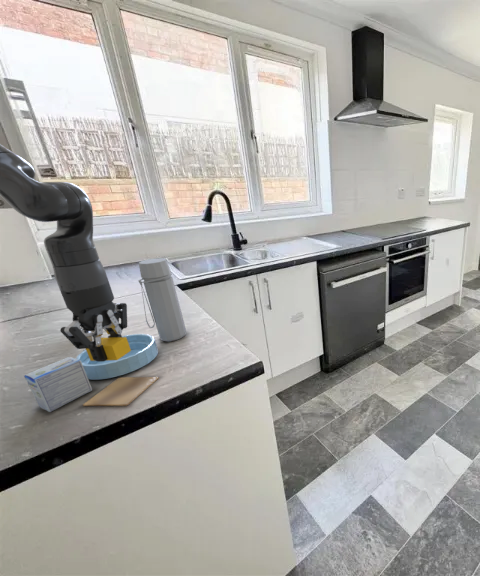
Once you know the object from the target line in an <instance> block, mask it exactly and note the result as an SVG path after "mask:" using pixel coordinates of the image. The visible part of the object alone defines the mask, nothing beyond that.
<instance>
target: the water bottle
mask: <svg viewBox="0 0 480 576" xmlns="http://www.w3.org/2000/svg"><path fill="white" fill-rule="evenodd" d="M138 267H139V272H140V273H139V274H140V277H141V279H138V280H137V281H138V283H139V285H140V287H141V289H142V291H141V294H142V296H144V297H145V299H144V298H142V302H143V303H145V300H146V304H147V307H148V310H149V312H150V317H151V319H152V321H153V325H150V324H149V321H148V318H147V313H146V311H144V315H145V322H146V325H147V326H148V328H149V329H153V328H154V327H155V326H156V329H157V333H158V336H159V339H160V340H161V341H163V342H175V341H178V340H180V339H182V338H183V337H185V336H186V334H187V328H186V324H185V320H184V317H183V312H182V309H181V305H180V302H179V297H178V294H177V290H176V286H175V283H174V278H173V273H172V271H171V269H170V266H169V263H168V261H167V259H166V258H164V257H163V258H162V257H159V258H158V257H157V258H149V259H145V260H141V261H139V262H138ZM143 286H144V287H143ZM143 308H144V310H146V306H145V304H143Z"/></svg>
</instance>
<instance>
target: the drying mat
mask: <svg viewBox="0 0 480 576" xmlns="http://www.w3.org/2000/svg"><path fill="white" fill-rule="evenodd" d="M159 379H160V378H159V376H127V377H125V376H123V377H121V376H118V378H116V379H115V380H113V381H112V382H111V383H110V384H108V385H107V386H105V387H104V388H103V389H101V390H100V391H99V392H98V393H96V394H95V395H93V396H92V397H91V398H89V399H88V400H87V401H86V402H84V403H82V407H128V406H129V405H130V404H131V403H132V402H133V401H135V400H136V399H138V397H139V396H141V395H142V394H143V393H144V392H145V391H146V390H147V389H149V387H151V386H152V385H153V384H154V383H155V382H156V381H158V380H159Z"/></svg>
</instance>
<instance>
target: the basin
mask: <svg viewBox="0 0 480 576" xmlns="http://www.w3.org/2000/svg"><path fill="white" fill-rule="evenodd" d="M121 336H122V337H126V338H127V340H128V343H129V346H130V349H131V351H130V352H128V353H127V354H125V355H124V356H123V357H121V358H120V359H118V360H106V361H100V362H98V361H90V358H89V356H88V353H87V351H86V349H83V350H82V351H81V353H79V354H78V355H77V356H76V358H75V359H78V360H81V362H82V365H83V368H84V370H85V373H86V375H87V378H88V380H89V381H91V380H93V381H95V380H96V381H97V380H106V379H111V378H116V377H121V376H124V375H126V374H129V373H132V372H134V371H136V370H139V369H141V368H144V366H147V365H148V364H149V363H151V362H152V361H153V360H155V358H156V357H157V356H158V354H159V349H158V345H157V342H156V339H155V337H154V336H153V335H151V334H147V333H134V334H133V333H132V334H126V335H121Z"/></svg>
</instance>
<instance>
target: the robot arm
mask: <svg viewBox="0 0 480 576" xmlns="http://www.w3.org/2000/svg"><path fill="white" fill-rule="evenodd" d="M35 178H36V171H35V169H34V167H33V166H32V165H31V163H29V162H28V161H27V160H25V159H24V158H23V157H21V156H20V155H18V154H17V153H15V152H13V151H12V150H10V149H8V148H7V147H6V146H4V145H2V144H1V143H0V197H1V198H2V199H3V200H4V201H5V202H6V203H7V204H8V205H9V206H10V207H11V208H12V209H13V210H14V211H15V212H17V213H18V214H20V215H22V216H23V217H26V218H28V219H30V220H33V221H35V222H41V223H52V222H53V223H54V222H56V229H55V231H54V232H53V233H51V234H49V235H47V236H46V237H45V238H44V239H43V244H44V245H43V246H44V248H45V251H46V253H47V256H48V258H49V261H50V264H51V266H52V270H53V274H54V275H53V276H54V278H55V281H56V284H57V286H58V289H59V291H60V293H61V296H62V299H63V301H64V304H65V306H66V308H67V309H68V310H69V311H70V312H71V313H72V322H71V323H70V324H69V325H67V326H61V328H60V333H61V334H62V335H63V336H64V337H65V338H66V339H67V340H68V341H69V342H70V343H71V344H72V346H74V347H75V348H76V349H77V350H80V349H81V350H82V349H83V350H86V349H89V350H90V353H91V355H92V358H93V359H94V360H96V361H98V362H100V361H106V360H107V356H106V353H105V350H104V347H103V345H101V338H102V336H103V334H104V332H105V333H106V334H107V335H108V336H107V338H113V337H122V336H123V335H122V333H123V330H124V329H127V328H128V305H127V303H126V302H113V301H114V300H115V296H114V293H113V290H112V287H111V283H110V281H109V278H108V275H107V272H106V269H105V267H104V266H103V264H102V262H101V259H100V256H99V254H98V249H97V247H96V245H95V242H94V211H93V205H92V202H91V200H90V197H89V196H88V195H87V193H86V192H85V190H83V189H82V188H81V187H79V186H78V185H76V184H74V183H73V182H67V181H38V180H36V179H35ZM94 330H95V331H94Z"/></svg>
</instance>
